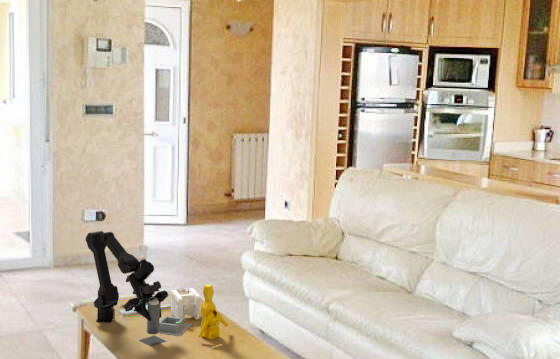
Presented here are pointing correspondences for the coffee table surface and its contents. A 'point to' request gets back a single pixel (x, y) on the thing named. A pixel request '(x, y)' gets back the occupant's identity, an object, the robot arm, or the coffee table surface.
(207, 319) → the figure statuette
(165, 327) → the port
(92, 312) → the coffee table surface
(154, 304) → the grey cylindrical piece
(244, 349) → the coffee table surface
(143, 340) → the pad
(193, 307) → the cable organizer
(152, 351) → the coffee table surface
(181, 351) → the coffee table surface
